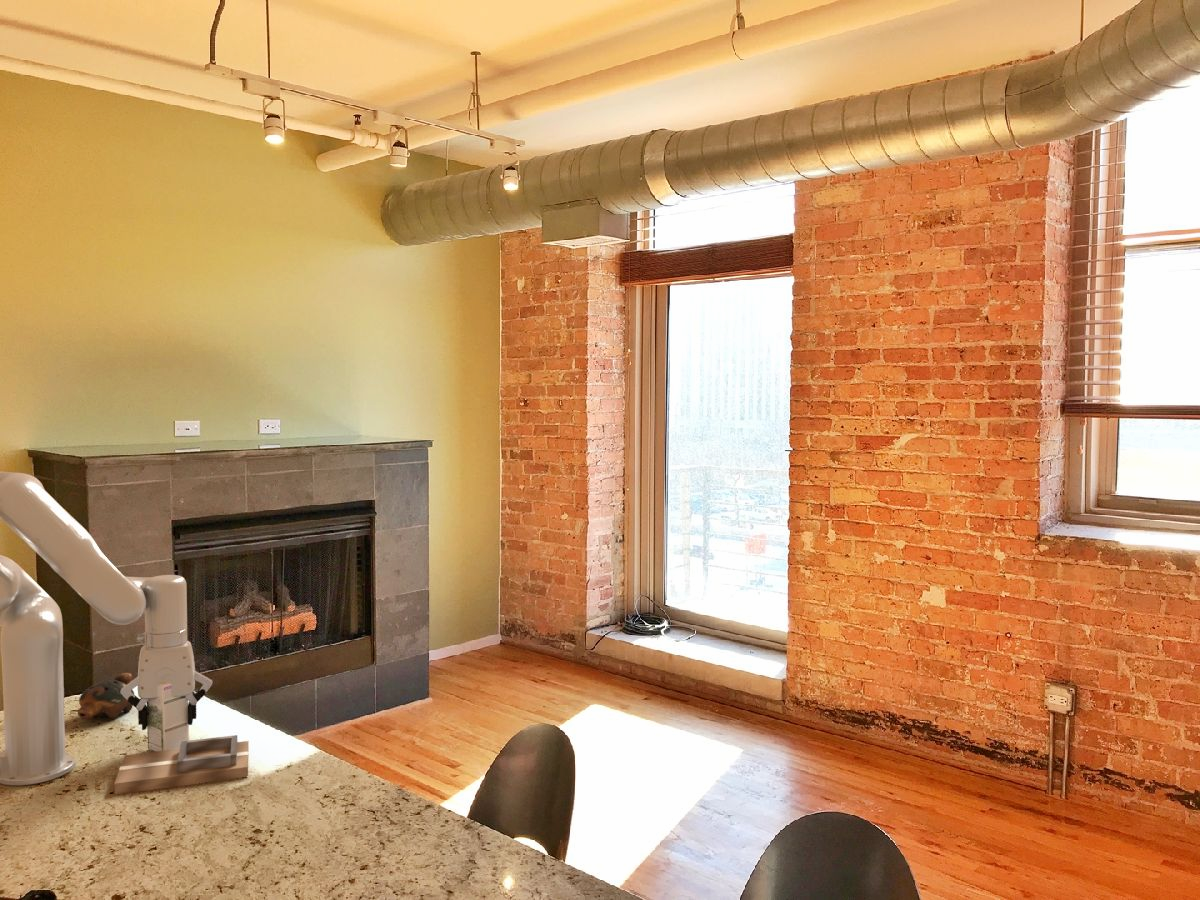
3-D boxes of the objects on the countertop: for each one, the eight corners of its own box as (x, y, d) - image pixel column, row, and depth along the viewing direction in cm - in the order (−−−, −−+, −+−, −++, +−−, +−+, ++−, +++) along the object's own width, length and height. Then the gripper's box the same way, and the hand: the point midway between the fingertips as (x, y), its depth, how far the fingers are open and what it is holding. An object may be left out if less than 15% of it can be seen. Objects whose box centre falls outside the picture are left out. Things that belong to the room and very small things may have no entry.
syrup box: (190, 747, 180) (189, 676, 180) (162, 757, 176) (161, 684, 175) (173, 740, 184) (172, 671, 183) (145, 750, 179) (144, 678, 178)
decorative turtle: (149, 704, 204) (148, 670, 203) (107, 733, 189) (106, 697, 188) (108, 699, 205) (108, 666, 204) (63, 729, 190) (62, 693, 189)
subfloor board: (114, 794, 159) (114, 772, 159) (124, 765, 171) (124, 745, 171) (247, 777, 167) (247, 756, 167) (248, 750, 179) (248, 731, 179)
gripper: (114, 647, 171) (116, 737, 173) (213, 639, 178) (214, 726, 179) (119, 636, 178) (121, 723, 180) (215, 629, 185) (216, 713, 186)
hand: (167, 724), depth 179 cm, fingers closed on syrup box, 7 cm apart
